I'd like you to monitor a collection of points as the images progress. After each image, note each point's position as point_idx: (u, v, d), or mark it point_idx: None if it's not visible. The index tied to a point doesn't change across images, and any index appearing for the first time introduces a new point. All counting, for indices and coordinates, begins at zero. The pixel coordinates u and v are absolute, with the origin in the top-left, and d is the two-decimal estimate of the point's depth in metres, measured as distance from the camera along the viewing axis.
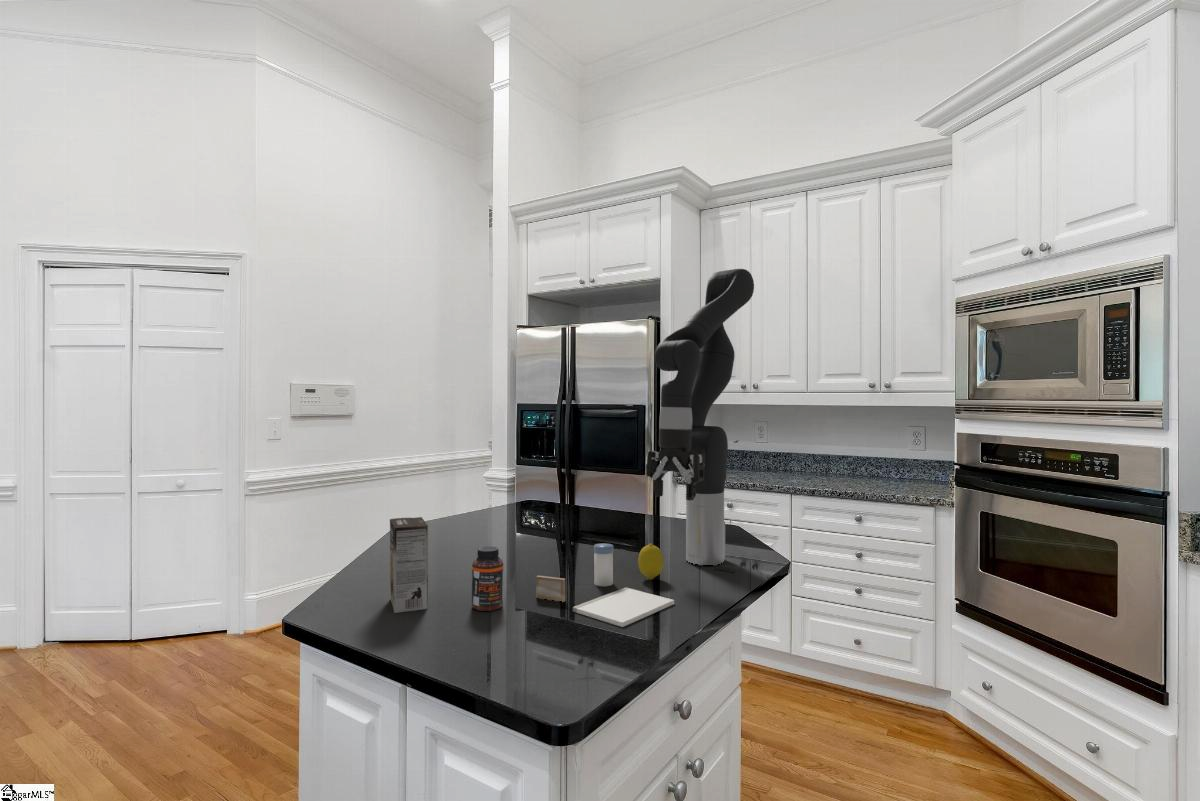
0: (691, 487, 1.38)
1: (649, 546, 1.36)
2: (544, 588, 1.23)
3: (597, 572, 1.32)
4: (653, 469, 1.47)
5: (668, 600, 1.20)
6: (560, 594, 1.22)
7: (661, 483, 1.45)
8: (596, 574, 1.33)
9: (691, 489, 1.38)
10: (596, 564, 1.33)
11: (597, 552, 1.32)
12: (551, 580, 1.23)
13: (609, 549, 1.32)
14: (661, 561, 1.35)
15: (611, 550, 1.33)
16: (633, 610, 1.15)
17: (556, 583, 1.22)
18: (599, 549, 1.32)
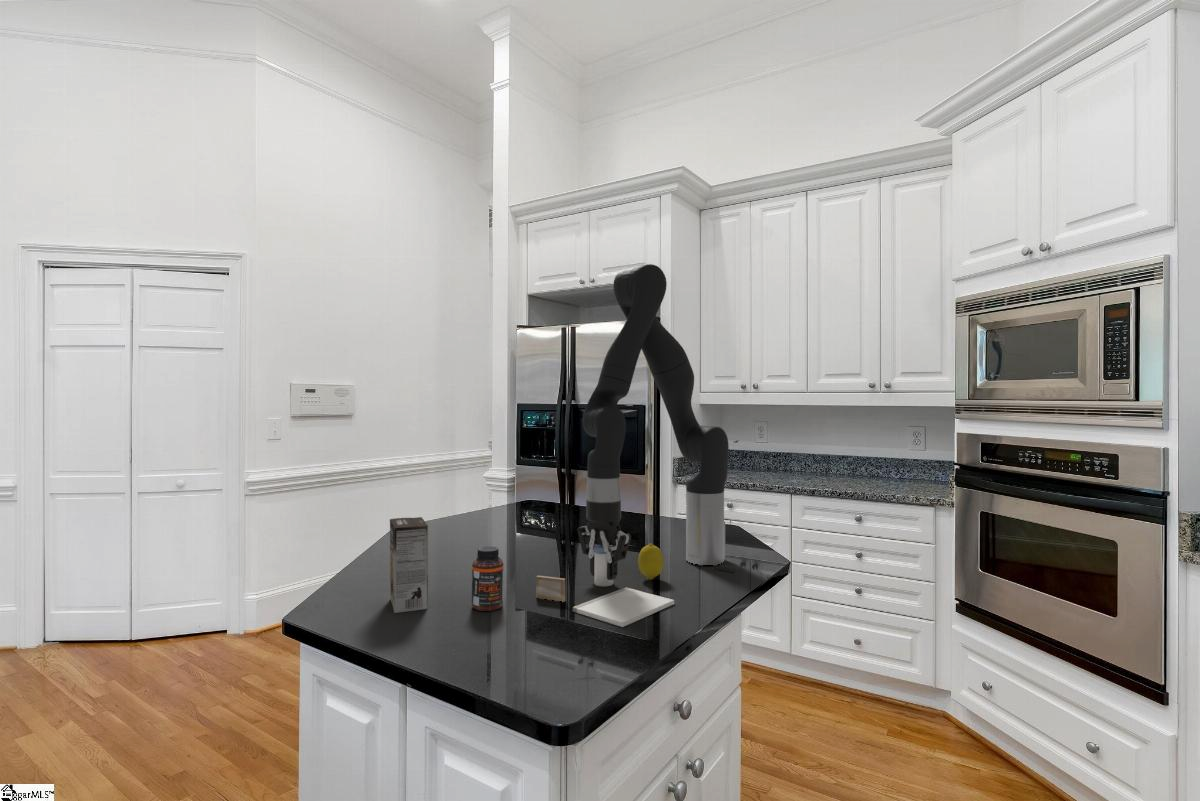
0: (612, 566, 1.31)
1: (649, 546, 1.36)
2: (544, 588, 1.23)
3: (597, 572, 1.32)
4: (589, 545, 1.38)
5: (668, 600, 1.20)
6: (560, 594, 1.22)
7: None
8: (596, 574, 1.33)
9: (612, 568, 1.31)
10: (596, 564, 1.33)
11: (597, 552, 1.32)
12: (551, 580, 1.23)
13: None
14: (661, 561, 1.35)
15: None
16: (633, 610, 1.15)
17: (556, 583, 1.22)
18: (599, 549, 1.32)
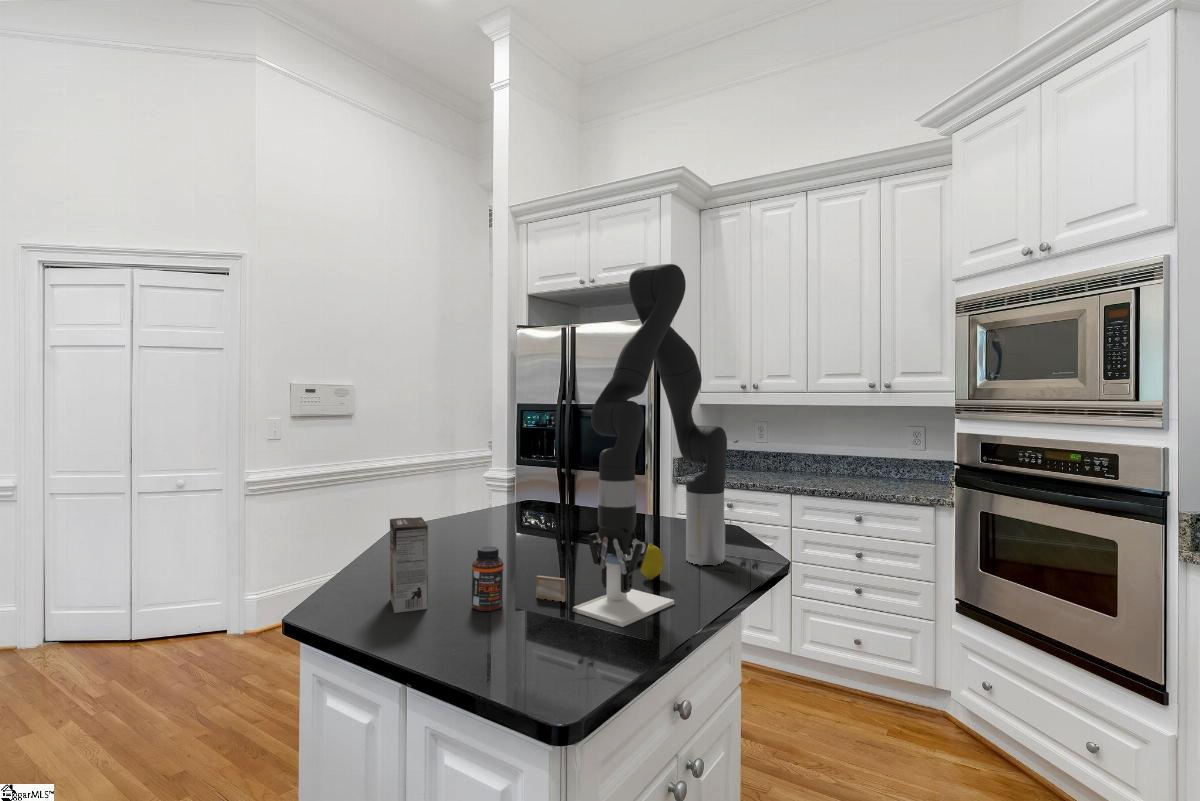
0: (626, 578, 1.19)
1: (649, 546, 1.36)
2: (544, 588, 1.23)
3: (610, 584, 1.20)
4: (600, 554, 1.25)
5: (668, 600, 1.20)
6: (560, 594, 1.22)
7: None
8: (609, 586, 1.20)
9: (626, 580, 1.19)
10: (609, 575, 1.20)
11: (610, 562, 1.20)
12: (551, 580, 1.23)
13: None
14: (661, 561, 1.35)
15: None
16: (633, 610, 1.15)
17: (556, 583, 1.22)
18: (612, 559, 1.19)
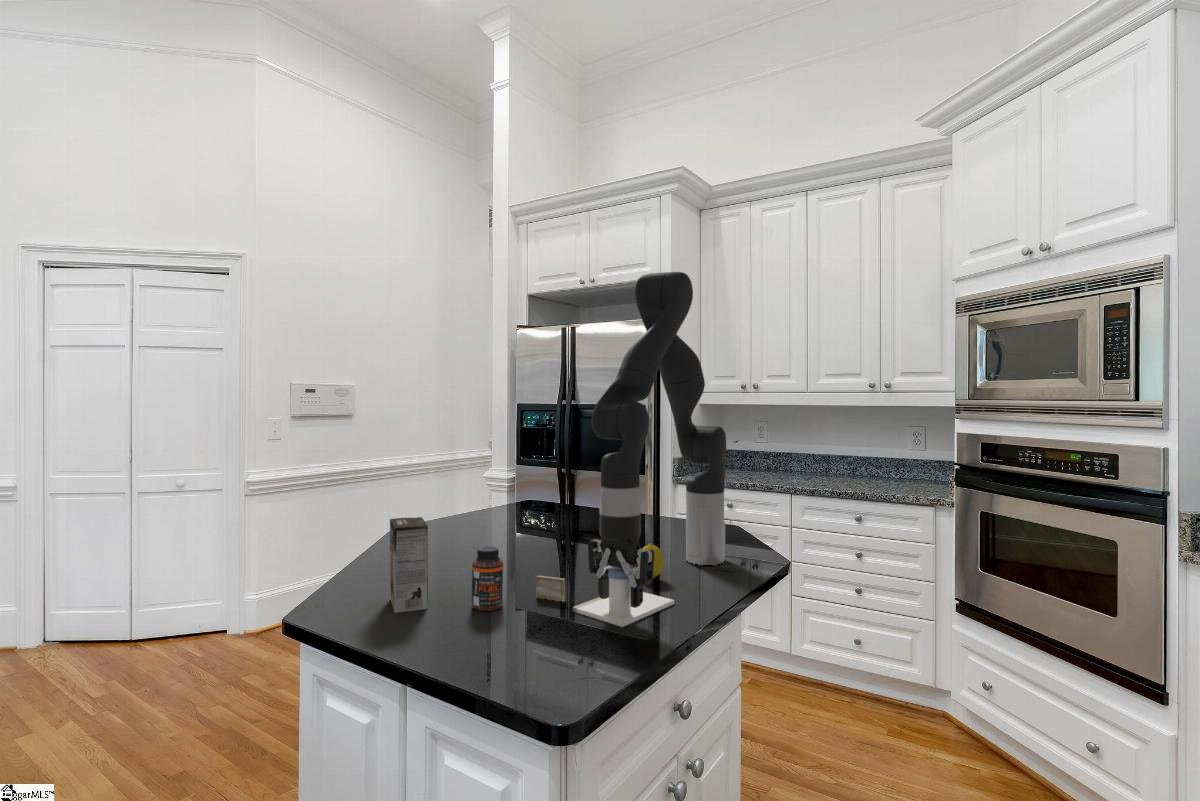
0: (637, 591, 1.09)
1: (649, 546, 1.36)
2: (544, 588, 1.23)
3: (612, 600, 1.11)
4: (597, 562, 1.17)
5: (668, 600, 1.20)
6: (560, 594, 1.22)
7: (607, 581, 1.15)
8: (611, 603, 1.12)
9: (637, 594, 1.09)
10: (611, 591, 1.11)
11: (612, 577, 1.11)
12: (551, 580, 1.23)
13: None
14: (661, 561, 1.35)
15: None
16: (633, 610, 1.15)
17: (556, 583, 1.22)
18: (615, 574, 1.11)
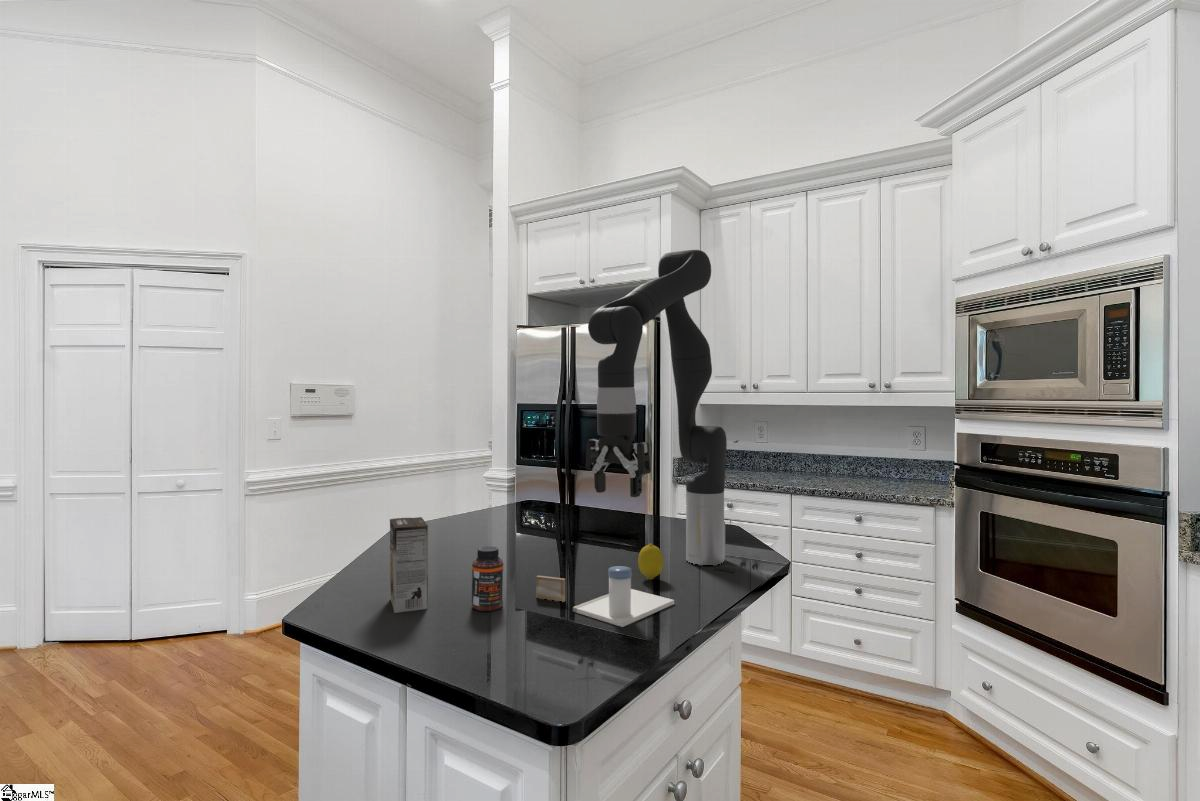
0: (636, 482, 1.16)
1: (649, 546, 1.36)
2: (544, 588, 1.23)
3: (612, 600, 1.11)
4: (594, 460, 1.25)
5: (668, 600, 1.20)
6: (560, 594, 1.22)
7: (603, 477, 1.23)
8: (611, 603, 1.12)
9: (636, 484, 1.16)
10: (611, 591, 1.11)
11: (612, 577, 1.11)
12: (551, 580, 1.23)
13: (627, 574, 1.11)
14: (661, 561, 1.35)
15: (629, 575, 1.12)
16: (633, 610, 1.15)
17: (556, 583, 1.22)
18: (615, 574, 1.11)
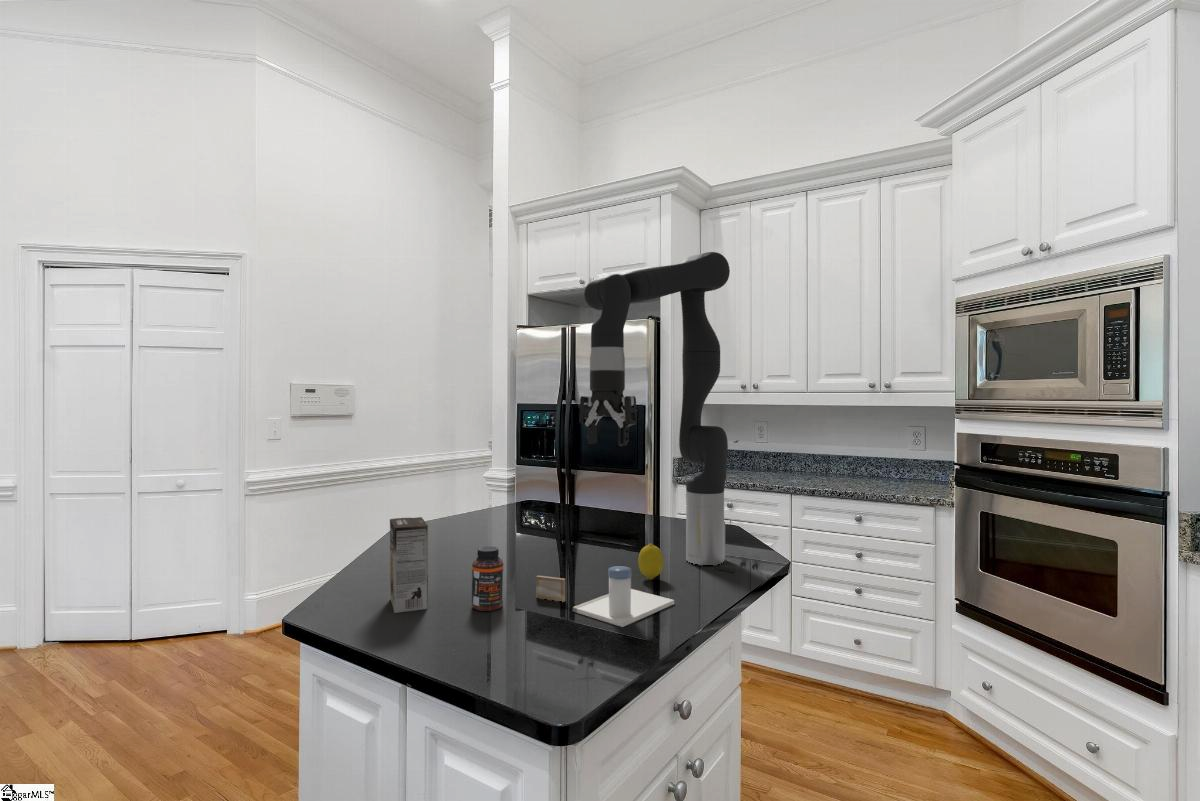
0: (623, 431, 1.29)
1: (649, 546, 1.36)
2: (544, 588, 1.23)
3: (612, 601, 1.11)
4: (587, 415, 1.38)
5: (668, 600, 1.20)
6: (560, 594, 1.22)
7: (595, 430, 1.36)
8: (611, 603, 1.12)
9: (623, 433, 1.29)
10: (611, 591, 1.11)
11: (612, 577, 1.11)
12: (551, 580, 1.23)
13: (627, 574, 1.11)
14: (661, 561, 1.35)
15: (629, 575, 1.12)
16: (633, 610, 1.15)
17: (556, 583, 1.22)
18: (615, 574, 1.11)
